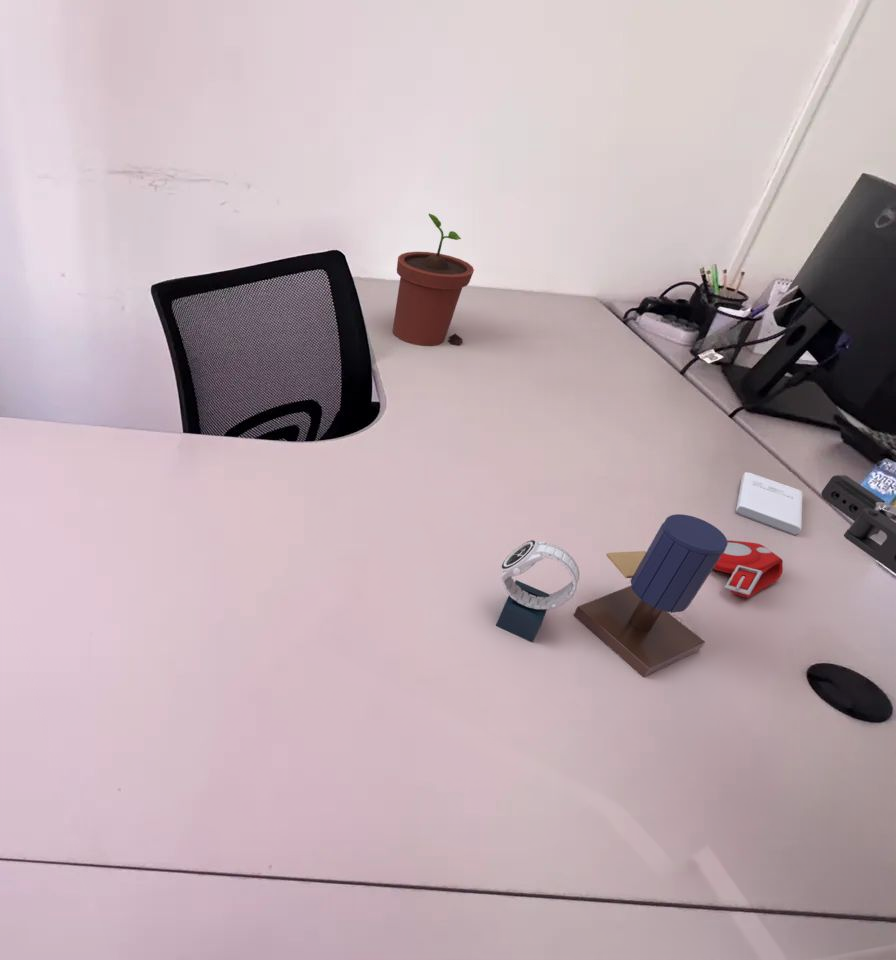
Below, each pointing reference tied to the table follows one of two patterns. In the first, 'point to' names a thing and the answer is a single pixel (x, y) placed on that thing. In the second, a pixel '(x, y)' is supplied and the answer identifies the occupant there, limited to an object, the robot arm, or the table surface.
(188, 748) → the table surface
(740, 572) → the tracker holder
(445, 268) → the potted plant
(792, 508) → the hard drive
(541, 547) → the watch
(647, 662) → the stand
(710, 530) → the cap
